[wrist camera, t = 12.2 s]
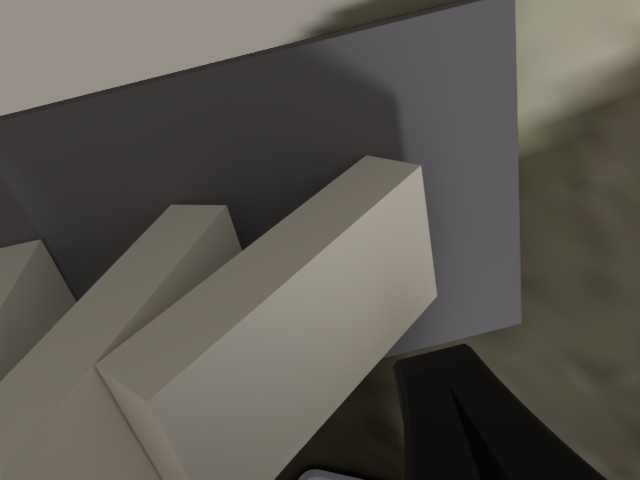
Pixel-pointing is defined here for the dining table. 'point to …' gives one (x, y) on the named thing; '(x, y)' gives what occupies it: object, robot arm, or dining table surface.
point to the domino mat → (293, 152)
